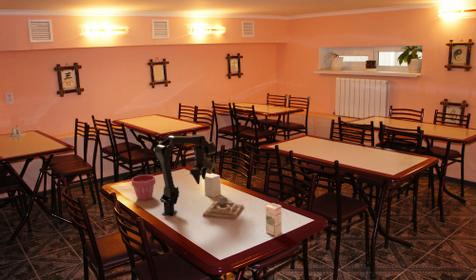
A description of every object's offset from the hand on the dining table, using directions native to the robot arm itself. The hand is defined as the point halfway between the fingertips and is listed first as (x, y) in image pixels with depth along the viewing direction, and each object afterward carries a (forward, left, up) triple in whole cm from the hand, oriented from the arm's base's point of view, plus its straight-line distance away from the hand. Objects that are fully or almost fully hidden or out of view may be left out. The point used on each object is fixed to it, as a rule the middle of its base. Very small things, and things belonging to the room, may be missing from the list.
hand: (201, 181), depth 253 cm
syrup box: (-32, -50, -13) cm, 61 cm away
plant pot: (0, +38, -13) cm, 40 cm away
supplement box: (+14, -2, -13) cm, 19 cm away
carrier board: (-11, -17, -13) cm, 24 cm away
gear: (-11, -17, -12) cm, 23 cm away
